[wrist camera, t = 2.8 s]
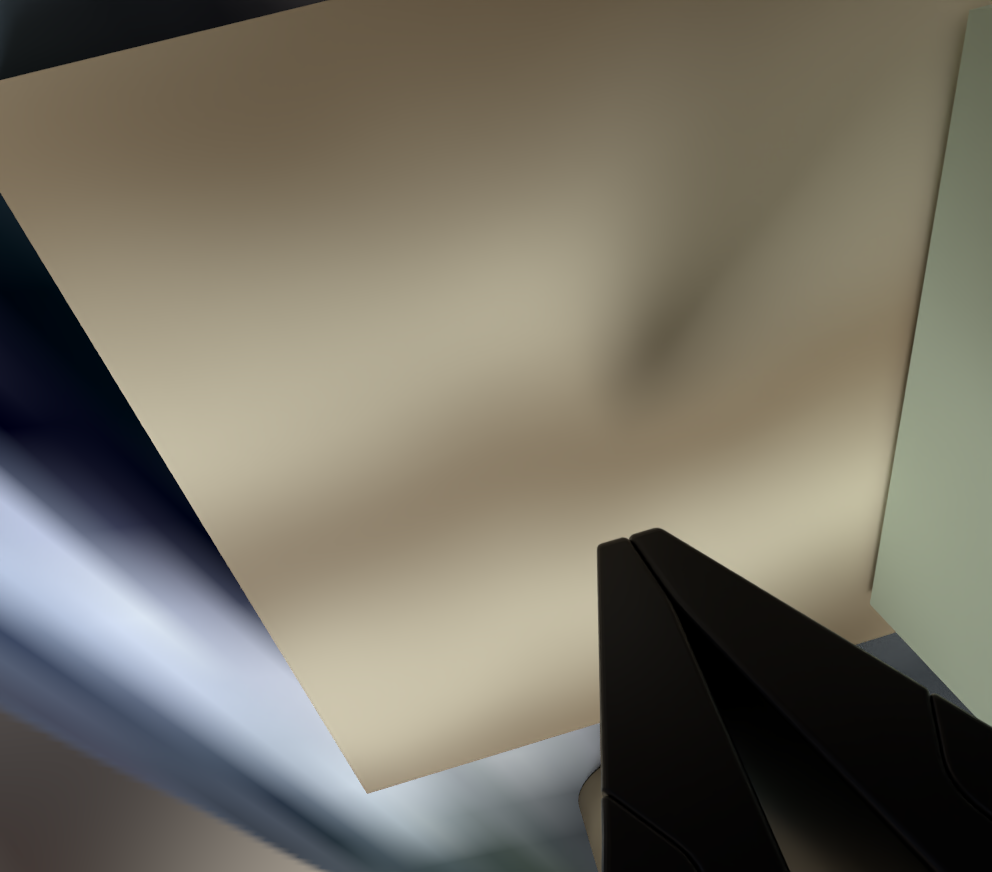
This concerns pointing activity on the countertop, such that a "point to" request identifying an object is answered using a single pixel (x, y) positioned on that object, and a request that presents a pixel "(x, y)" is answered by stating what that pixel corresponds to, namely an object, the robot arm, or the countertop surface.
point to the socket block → (950, 416)
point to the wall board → (502, 316)
